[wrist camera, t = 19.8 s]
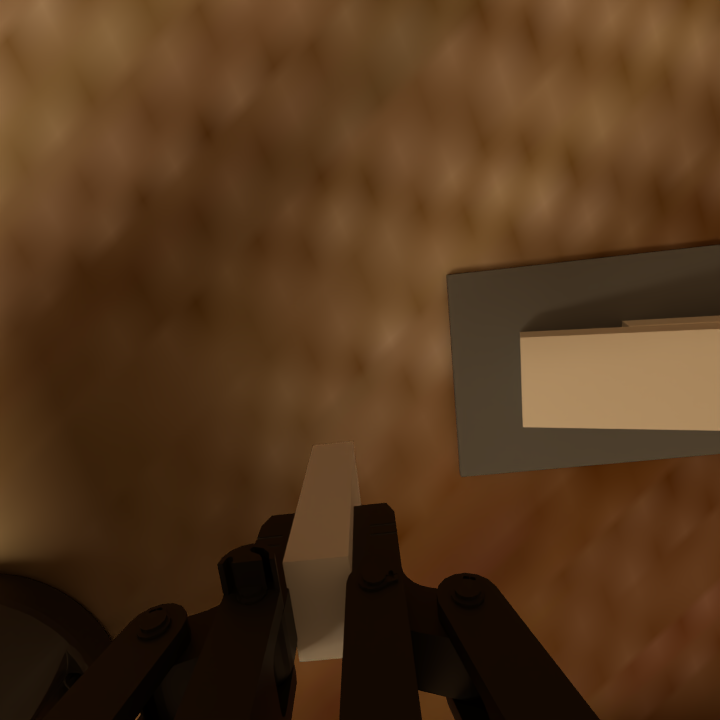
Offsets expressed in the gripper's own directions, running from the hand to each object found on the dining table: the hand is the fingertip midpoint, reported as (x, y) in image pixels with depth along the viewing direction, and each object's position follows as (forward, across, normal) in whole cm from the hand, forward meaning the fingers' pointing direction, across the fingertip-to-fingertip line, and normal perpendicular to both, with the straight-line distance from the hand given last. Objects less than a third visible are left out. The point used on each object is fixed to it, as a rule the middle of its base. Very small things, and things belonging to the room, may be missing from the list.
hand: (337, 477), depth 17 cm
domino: (+9, +10, 0) cm, 13 cm away
